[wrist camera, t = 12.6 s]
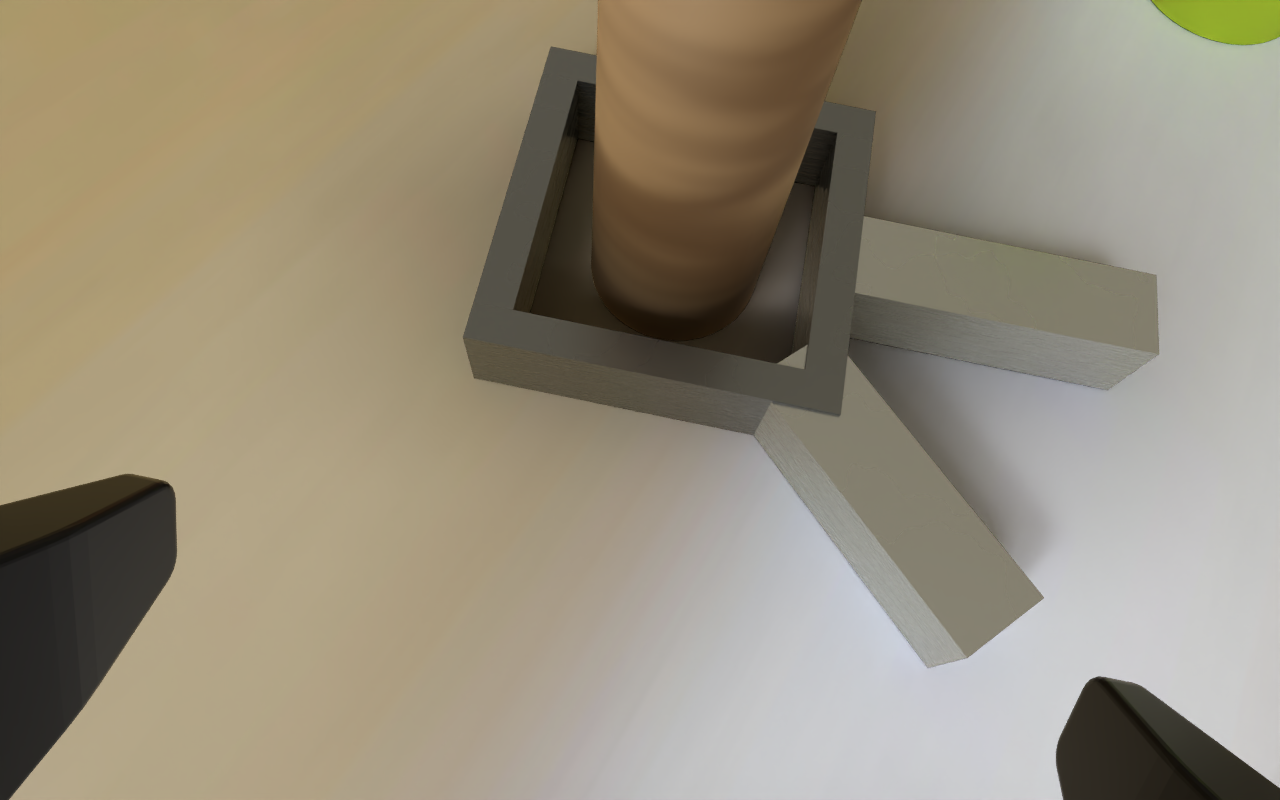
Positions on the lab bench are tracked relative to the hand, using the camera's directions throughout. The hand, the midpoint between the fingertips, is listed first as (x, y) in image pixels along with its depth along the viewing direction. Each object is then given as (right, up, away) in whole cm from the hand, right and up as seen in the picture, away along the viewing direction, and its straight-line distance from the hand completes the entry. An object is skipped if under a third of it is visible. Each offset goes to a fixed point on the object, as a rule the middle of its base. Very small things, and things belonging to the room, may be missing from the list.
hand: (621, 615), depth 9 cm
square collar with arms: (+5, +3, +16) cm, 17 cm away
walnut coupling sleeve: (+1, +6, +17) cm, 18 cm away
